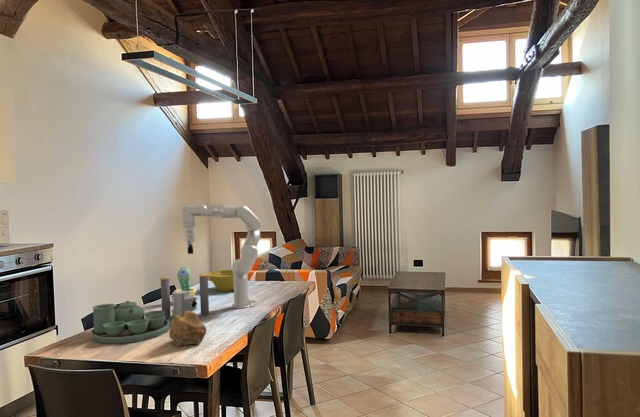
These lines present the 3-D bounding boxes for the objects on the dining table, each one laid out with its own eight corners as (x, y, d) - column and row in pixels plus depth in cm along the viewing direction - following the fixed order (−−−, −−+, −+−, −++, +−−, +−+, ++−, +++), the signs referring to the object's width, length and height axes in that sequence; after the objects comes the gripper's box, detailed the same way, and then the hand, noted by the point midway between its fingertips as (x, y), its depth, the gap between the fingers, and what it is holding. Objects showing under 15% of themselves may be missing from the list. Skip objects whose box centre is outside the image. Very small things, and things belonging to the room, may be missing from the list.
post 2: (208, 312, 298) (207, 273, 297) (209, 314, 293) (208, 274, 292) (200, 313, 296) (199, 274, 296) (200, 315, 291) (199, 275, 291)
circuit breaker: (193, 318, 286) (192, 293, 286) (172, 317, 289) (171, 293, 289) (199, 314, 294) (198, 291, 293) (178, 314, 296) (177, 290, 296)
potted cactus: (169, 303, 329) (168, 267, 329) (183, 298, 344) (182, 264, 343) (187, 304, 324) (186, 268, 323) (201, 299, 338) (200, 265, 337)
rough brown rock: (197, 352, 224) (199, 320, 224) (163, 348, 226) (165, 317, 226) (213, 338, 247) (214, 310, 247) (182, 336, 249) (184, 308, 249)
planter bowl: (244, 293, 358) (243, 275, 357) (202, 294, 358) (201, 276, 358) (251, 285, 390) (250, 269, 390) (212, 286, 390) (211, 270, 390)
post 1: (170, 316, 291) (169, 276, 291) (170, 318, 286) (169, 277, 286) (162, 317, 290) (160, 277, 289) (161, 319, 285) (160, 278, 284)
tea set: (120, 349, 230) (118, 315, 230) (76, 337, 253) (75, 306, 252) (185, 329, 263) (184, 299, 263) (141, 320, 286) (140, 293, 285)
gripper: (196, 225, 293) (197, 254, 294) (193, 224, 307) (195, 251, 308) (183, 225, 291) (185, 255, 291) (182, 224, 305) (183, 252, 305)
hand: (190, 253), depth 300 cm, fingers closed
